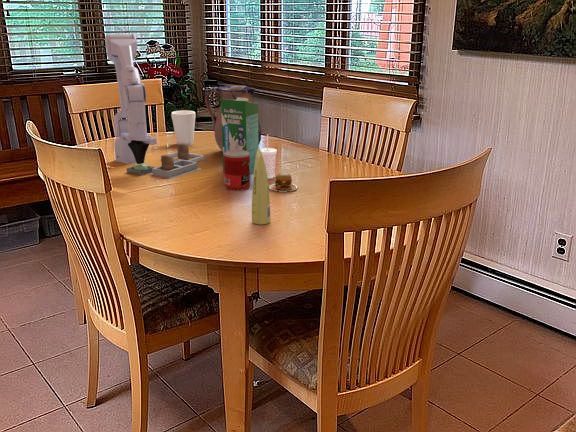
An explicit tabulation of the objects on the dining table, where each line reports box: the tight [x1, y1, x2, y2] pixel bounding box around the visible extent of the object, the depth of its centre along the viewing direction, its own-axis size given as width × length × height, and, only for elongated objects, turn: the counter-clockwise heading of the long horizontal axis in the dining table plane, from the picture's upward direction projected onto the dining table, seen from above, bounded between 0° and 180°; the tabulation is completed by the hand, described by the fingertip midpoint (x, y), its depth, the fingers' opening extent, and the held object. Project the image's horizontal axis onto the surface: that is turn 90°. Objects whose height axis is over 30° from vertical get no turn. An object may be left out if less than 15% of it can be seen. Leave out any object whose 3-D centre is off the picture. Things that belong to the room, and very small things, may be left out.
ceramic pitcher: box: [204, 85, 262, 152], centre depth 217 cm, size 18×21×25 cm
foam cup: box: [170, 109, 197, 146], centre depth 233 cm, size 10×9×13 cm
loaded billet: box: [160, 153, 175, 171], centre depth 189 cm, size 4×4×6 cm
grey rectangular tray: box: [149, 160, 202, 180], centre depth 193 cm, size 10×15×3 cm, turn 147°
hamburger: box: [269, 172, 298, 193], centre depth 178 cm, size 12×12×6 cm
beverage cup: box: [260, 134, 278, 179], centre depth 189 cm, size 6×6×14 cm
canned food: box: [223, 150, 251, 191], centre depth 178 cm, size 8×8×11 cm
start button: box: [133, 162, 149, 171], centre depth 191 cm, size 4×4×3 cm
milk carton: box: [220, 98, 260, 175], centre depth 192 cm, size 9×9×25 cm
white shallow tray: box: [170, 151, 207, 163], centre depth 208 cm, size 13×10×2 cm
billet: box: [176, 143, 190, 160], centre depth 207 cm, size 4×4×6 cm
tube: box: [251, 146, 271, 226], centre depth 148 cm, size 6×5×20 cm
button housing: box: [126, 165, 156, 176], centre depth 192 cm, size 6×6×2 cm
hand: (140, 163), depth 191 cm, fingers closed
